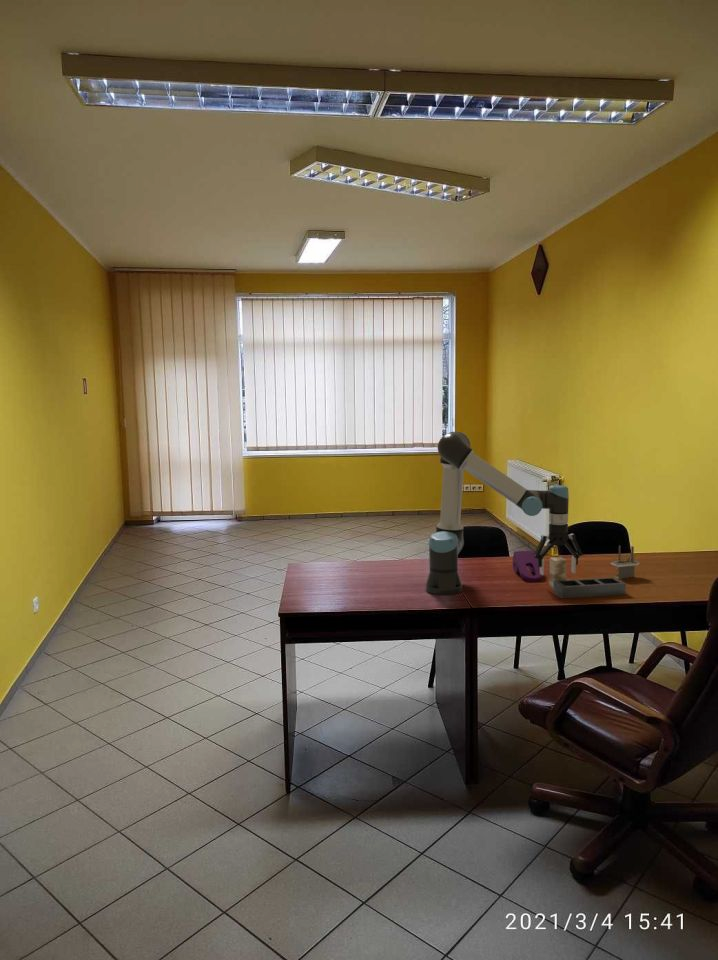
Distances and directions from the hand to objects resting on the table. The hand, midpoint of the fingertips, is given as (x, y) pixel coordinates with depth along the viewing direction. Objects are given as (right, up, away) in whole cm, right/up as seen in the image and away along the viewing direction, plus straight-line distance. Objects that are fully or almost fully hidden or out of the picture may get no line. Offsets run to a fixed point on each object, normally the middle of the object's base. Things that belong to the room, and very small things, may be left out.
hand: (557, 573), depth 274 cm
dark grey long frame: (+10, -7, -8) cm, 15 cm away
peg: (0, -6, +1) cm, 6 cm away
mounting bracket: (-8, -4, +18) cm, 20 cm away
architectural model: (+32, -4, +12) cm, 35 cm away
